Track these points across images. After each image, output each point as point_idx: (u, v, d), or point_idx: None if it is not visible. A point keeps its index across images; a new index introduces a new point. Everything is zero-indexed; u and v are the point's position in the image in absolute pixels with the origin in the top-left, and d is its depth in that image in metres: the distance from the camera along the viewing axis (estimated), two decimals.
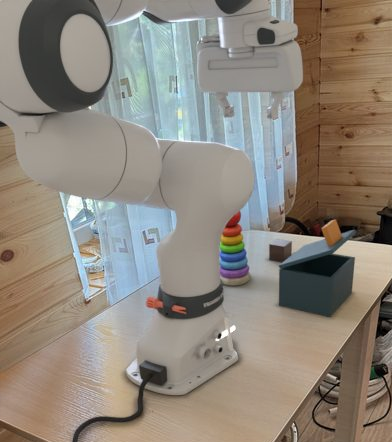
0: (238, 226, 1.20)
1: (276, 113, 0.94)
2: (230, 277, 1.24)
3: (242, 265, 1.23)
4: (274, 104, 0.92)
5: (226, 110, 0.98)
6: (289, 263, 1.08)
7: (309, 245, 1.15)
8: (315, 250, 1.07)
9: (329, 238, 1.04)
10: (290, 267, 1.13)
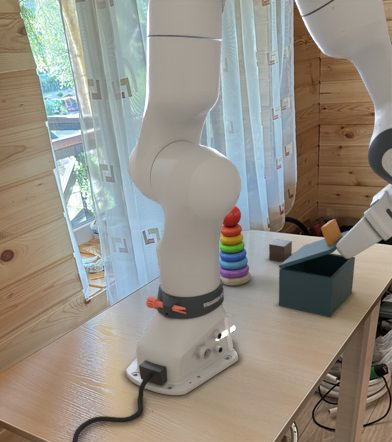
0: (238, 226, 1.20)
1: None
2: (230, 277, 1.24)
3: (242, 265, 1.23)
4: None
5: None
6: (289, 263, 1.08)
7: (309, 245, 1.15)
8: (315, 250, 1.07)
9: (328, 237, 1.04)
10: (290, 267, 1.13)
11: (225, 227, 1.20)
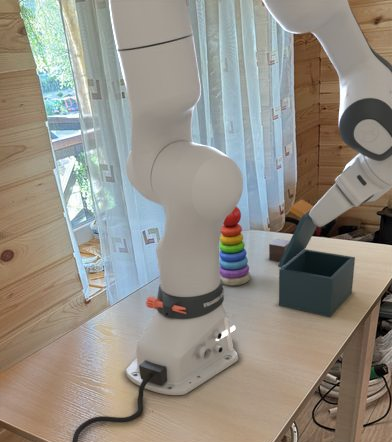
0: (238, 226, 1.20)
1: None
2: (230, 277, 1.24)
3: (242, 265, 1.23)
4: None
5: None
6: (283, 256, 1.08)
7: None
8: None
9: (300, 213, 1.05)
10: (290, 267, 1.13)
11: (225, 227, 1.20)
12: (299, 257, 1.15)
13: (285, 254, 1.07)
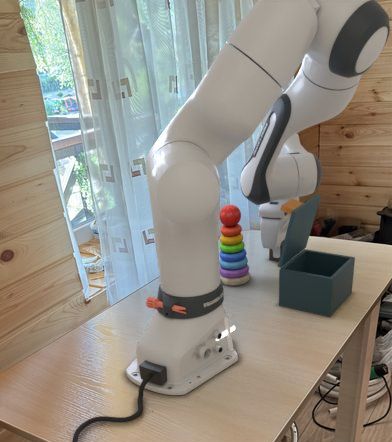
0: (238, 226, 1.20)
1: (276, 255, 1.33)
2: (230, 277, 1.24)
3: (242, 265, 1.23)
4: (272, 248, 1.32)
5: None
6: (281, 255, 1.08)
7: None
8: None
9: (291, 210, 1.06)
10: (290, 267, 1.13)
11: (225, 227, 1.20)
12: (299, 257, 1.15)
13: (282, 253, 1.08)
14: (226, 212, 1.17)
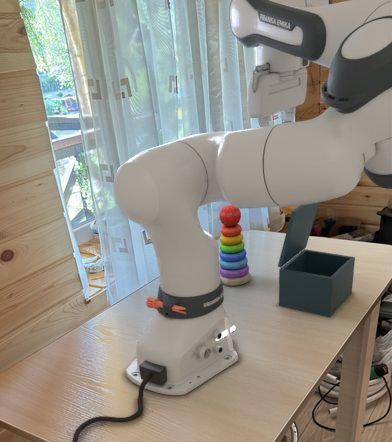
0: (238, 226, 1.20)
1: None
2: (230, 277, 1.24)
3: (242, 265, 1.23)
4: (293, 116, 1.13)
5: None
6: (281, 255, 1.08)
7: None
8: None
9: (291, 210, 1.06)
10: (290, 267, 1.13)
11: (225, 227, 1.20)
12: (299, 257, 1.15)
13: (282, 253, 1.08)
14: (226, 212, 1.17)
